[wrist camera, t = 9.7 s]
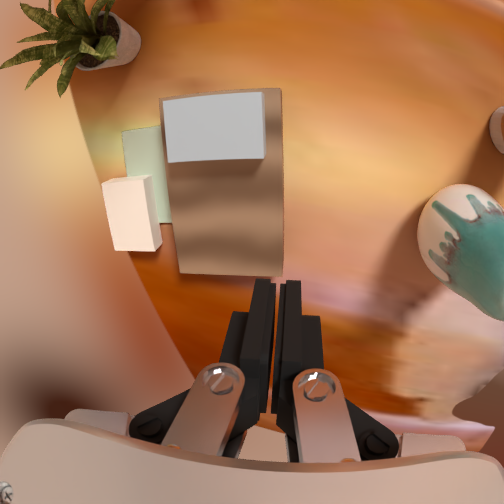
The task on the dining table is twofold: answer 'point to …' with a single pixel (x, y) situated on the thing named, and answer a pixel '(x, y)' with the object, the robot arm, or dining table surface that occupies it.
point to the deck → (230, 204)
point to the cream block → (132, 213)
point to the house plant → (78, 40)
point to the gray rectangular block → (215, 127)
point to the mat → (148, 163)
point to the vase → (466, 245)
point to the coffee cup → (497, 129)
